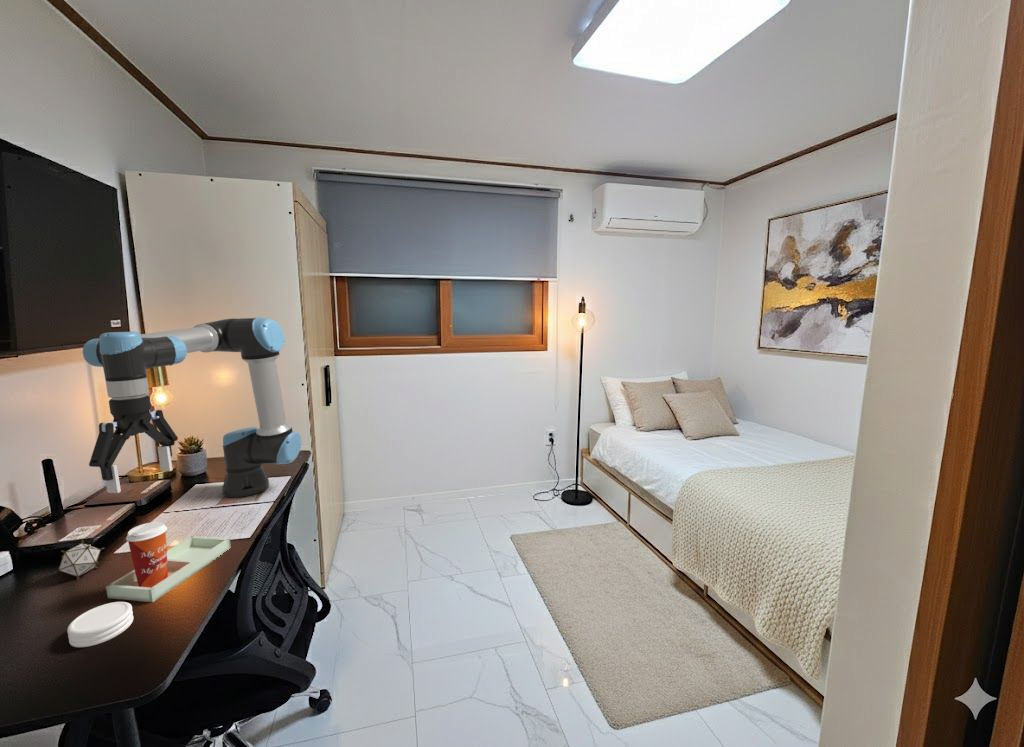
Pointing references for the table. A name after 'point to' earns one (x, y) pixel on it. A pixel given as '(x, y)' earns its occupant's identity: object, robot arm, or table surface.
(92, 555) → the game die
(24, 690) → the table surface
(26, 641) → the table surface
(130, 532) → the paper cup
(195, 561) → the mint green tray
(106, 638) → the coaster
